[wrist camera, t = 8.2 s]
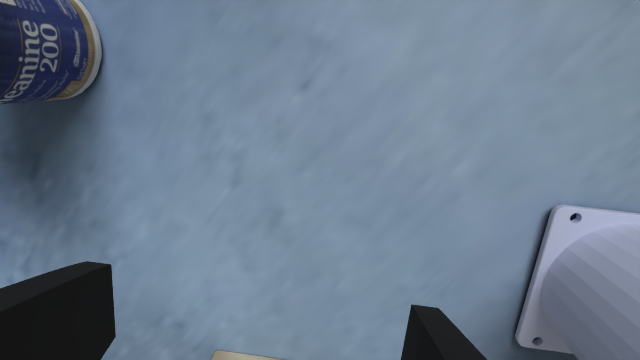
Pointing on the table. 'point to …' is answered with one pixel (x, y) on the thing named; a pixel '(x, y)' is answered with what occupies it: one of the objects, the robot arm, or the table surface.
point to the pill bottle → (46, 50)
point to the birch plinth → (237, 356)
